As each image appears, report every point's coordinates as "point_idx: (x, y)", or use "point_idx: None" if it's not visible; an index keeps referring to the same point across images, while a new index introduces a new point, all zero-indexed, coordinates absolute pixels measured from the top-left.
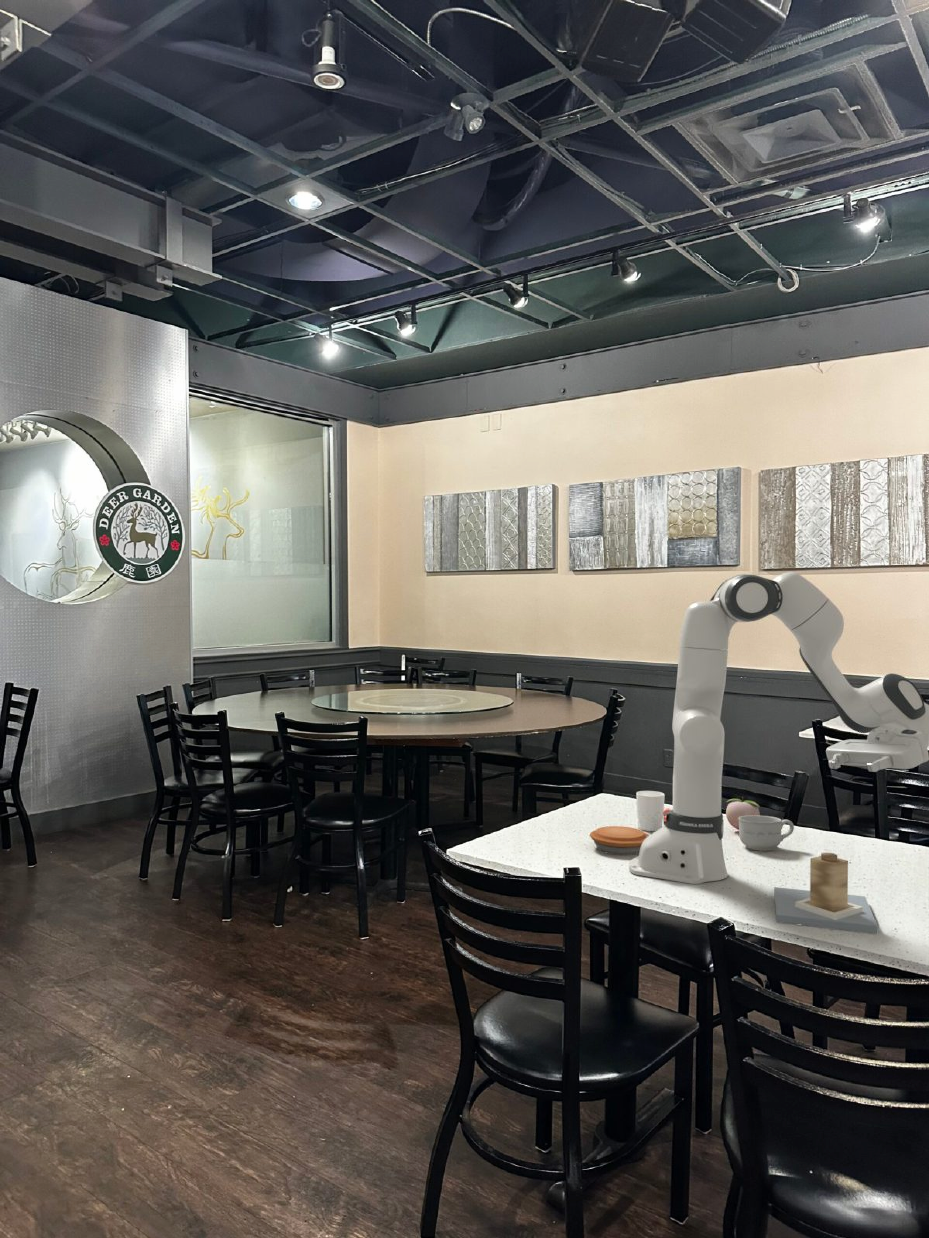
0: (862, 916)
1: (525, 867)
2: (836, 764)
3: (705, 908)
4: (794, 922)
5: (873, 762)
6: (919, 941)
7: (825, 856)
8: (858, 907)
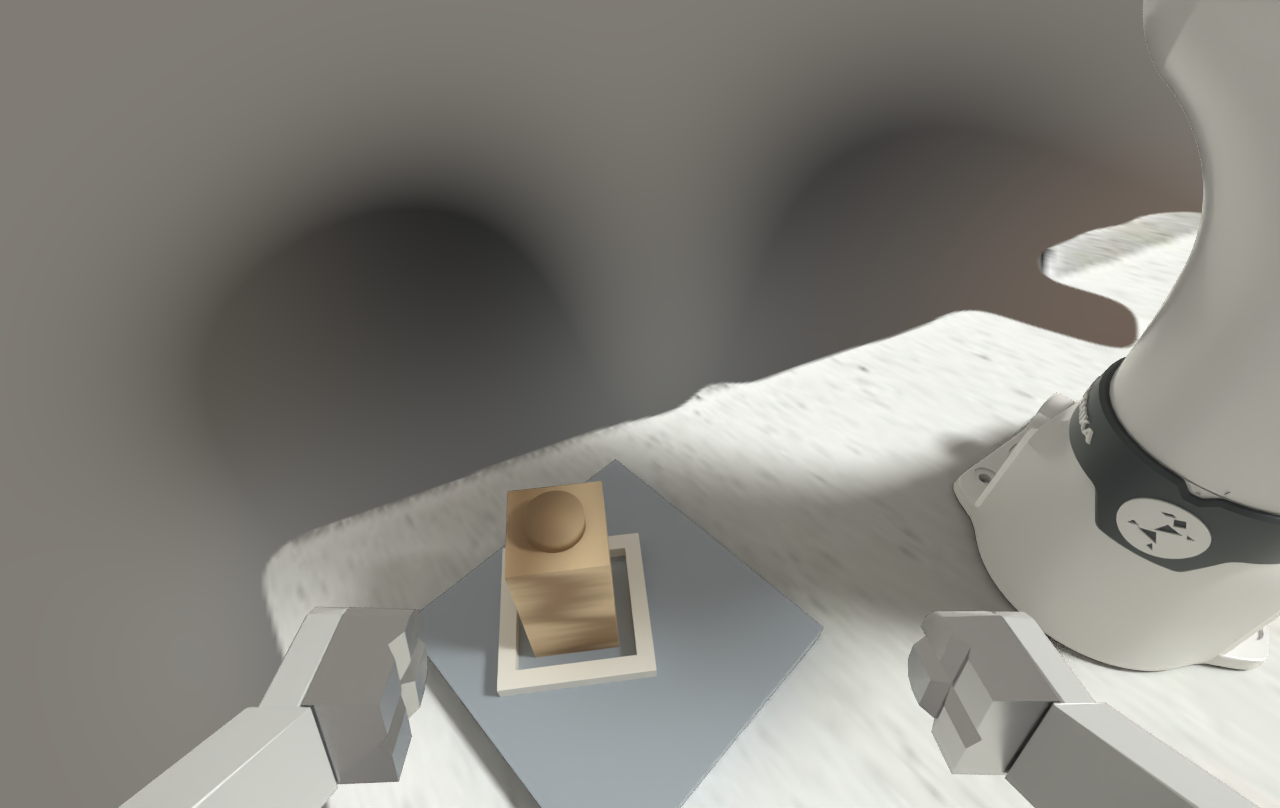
0: (475, 654)
1: (1123, 265)
2: (945, 677)
3: (761, 402)
4: None
5: (324, 660)
6: None
7: (549, 492)
8: (501, 670)
